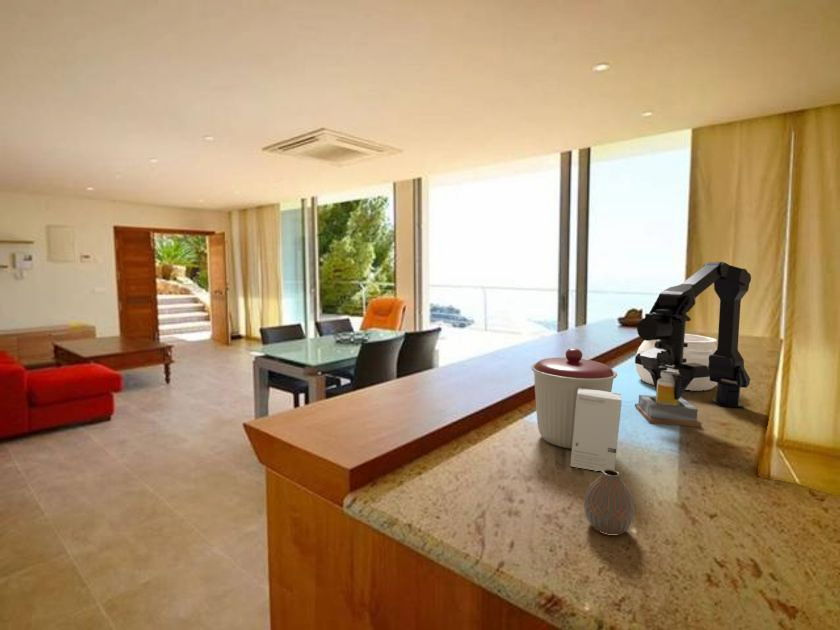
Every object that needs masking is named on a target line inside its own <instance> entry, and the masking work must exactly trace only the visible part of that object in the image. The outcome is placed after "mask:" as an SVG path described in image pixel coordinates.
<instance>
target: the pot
mask: <svg viewBox="0 0 840 630" xmlns="http://www.w3.org/2000/svg"><path fill="white" fill-rule="evenodd" d="M656 341H660V340H649V341H646V340H643V341H642V342H641V344H640V346H639V347H638V349H637V352H636V354H635V356H636V355H637V354H638V353H643V352H645V351H647V350H649V349H652V348H654V347H655V343H656ZM684 343H688V346H687V347H684V350H683V358H685V359H686V363H697V364H702V365H706V366H707V367H708V365H709V356H710V355H713V354H714V352H715V351H716V350H717V347H718V346H717V345H716V343H718V339H716V338H714V337H711V336H710V337H709V336H703V335H699V334H689V333H685V338H684ZM686 363H682V364H686ZM634 364H635V369H636V372H637V375H638V377H639V378H640V380H641V381H643V382H645V383H647V384H649V385H652V386H654V383H653V379H652V377H651V374H650V373H649V372H648V371H647V370H646V369H644V368H643V366H642V365H640V364H636V363H635V362H634ZM674 366H675V365H674ZM667 370H668V371H674V372H677V373H678V370H675V369H671V368H667ZM715 387H717V382H714V381H710V378H709V377H701V378H694V379H693V380H692V381H691V382H690V383H689V385H688V386H687V388H686V389H685V390H690V391H689V392H704V391H709V390H712V389H713V388H715ZM703 390H704V391H703Z"/></svg>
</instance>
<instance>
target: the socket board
mask: <svg viewBox="0 0 840 630" xmlns="http://www.w3.org/2000/svg"><path fill="white" fill-rule="evenodd" d="M655 402H656V395H651V394H650V395H649V394H648V395H647V394H638V403H634V408H635V407H636V408H635V409H636V410H637V411H638V412H639V414H641V415H642V416H643V417H644V419H645V420H646V421H647V422H648V423H649V424H656V425H657V424H660V425H674V426H685V427H686V426H687V427H698V428H701V427H702V422H701V421H699V420H698V408H697V407H695V406H694V405H693V404H692V403H690V402H688V401H687V400H685V399H684V398H683V397H680V398H679V403H678V406H672V405H658V404H656V403H655Z"/></svg>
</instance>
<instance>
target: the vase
mask: <svg viewBox="0 0 840 630" xmlns="http://www.w3.org/2000/svg"><path fill="white" fill-rule="evenodd" d="M634 501H635V500H634V498H633V495H632V492H631V490H630V489H629V488H628V486H627V485H626V483H625V482H624V481H623V478H622V476H621V474H620V472H619V471H617V470H611V469H605V470H603V471H602V473H601V472H600V475H599V476H598V477H596V478H595V479H594V480H593V481H592V482H591V483H590V484H589V485H588V487H587V489H586V491H585V494H584V502H583V506H584V507H583V509H584V512H585V516H586V517H585V518H586V519H587V521H588V523H589V524H590V526H591V527H592V528H593V527H594V528H595V529H596V530H595V529H594V528H593V529H594V530H595V531H597V530H598V531H601V532H604V533H607V534H620V535H622V534H624V533H625V532H627V531H628V530H629V529H630V526H632V523H633V520H634V517H635V502H634ZM598 531H597V532H598ZM621 533H622V534H621Z"/></svg>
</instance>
